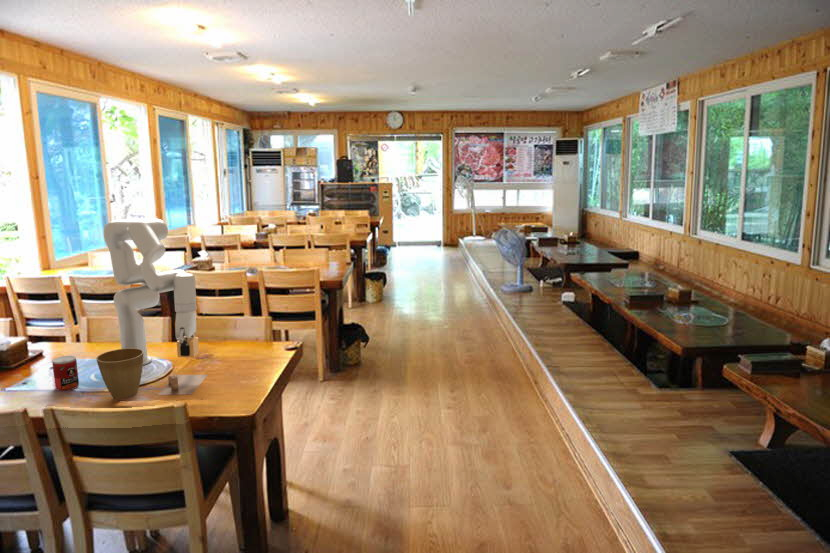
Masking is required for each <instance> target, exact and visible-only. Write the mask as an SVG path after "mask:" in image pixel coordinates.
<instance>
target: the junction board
mask: <svg viewBox="0 0 830 553" xmlns="http://www.w3.org/2000/svg"><path fill="white" fill-rule="evenodd" d="M207 377H208V374H180V375H179V374H178V375H177V374H176V375H175V374H170V375H168V376H167V380H168V383H167V384H165V385H166V386H164V387H163V388H162V389H161V390H160V392H158V394H157V396H179V395H180V396H182V395H184V396H185V395H193V393H194V392H195V391H196V390H197V389H198V387H199V386H200V385H201V384H202V382H204V381H205V379H206V378H207Z"/></svg>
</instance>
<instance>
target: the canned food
mask: <svg viewBox="0 0 830 553" xmlns="http://www.w3.org/2000/svg"><path fill="white" fill-rule="evenodd" d="M51 362H52V364H51V365H52V371H53V378H54V387H55V389H56V390H58V391H60V392H61V391H64V392H65V391H70V389H71V390H73V389H72V388H74V389H76V388H78V387H79V384H80V381H79V379H80V378H79V372H78V363H77V362H78V361H77V357H76V356H75V355H63V356H59V357H56V358H54V359H52V361H51ZM77 386H78V387H77ZM75 387H76V388H75Z"/></svg>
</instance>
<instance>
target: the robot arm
mask: <svg viewBox="0 0 830 553" xmlns="http://www.w3.org/2000/svg"><path fill="white" fill-rule="evenodd" d="M168 235H169V229H168V226H167V224H166V223H165V221H164V220H162V219H159V218H150V217H149V218H148V217H138V218H137V217H136V218H126V219H122V218H121V219H116V220H111V221H109V222H107V223H106V224H105V225H104V228H103V239H104V242H105V244H106V246H107V248H108V250H109V254H110V255H109V256H110V260H111V266H112V272H113V277H114V281H115V283H116V284H117V285H119V286H130V285H131V286H132V285H136V284H141V285H140V286H133V287H128V288H122V289H121V290H118V291H116V292H115V294H114V296H113V303H114V307H115V310H116V314H117V318H118V327H119V328H118V330H119V338H120V347H121V348H120V349H125V348H137V349H141V350H143V366H144V365H147V364H149V363H151V362H152V361H153V359H152V358H153V357H152V356H151V355H148V348H147V339H146V338H147V337H146V336H147V335H146V326H145V319H144V318H143V316H142V315H141V314H140V313H139V312H138V311H140V310H144V309H148V308H149V309H150V308H153V307H156V306H157V305H158V304H159V302H160V294H162V293H166V292H170V291H173V300H174V312H176V313H175V338H176V339H178V340H179V342H180V352H181V356H189V355H190V347H189V345H188V343H189V337H196V334H195V333H196V331H197V319H196V318H197V316H196V311H197V308H198V306H197V292H196V290H197V289H196V288H197V287H196V276H195V275H194V274H193V273H191V272H186V271H185V270H182V269H172V270H164V271H156V267H155V266H154V263H155V262H158V260H159V259H161V258H163V256H164V254H165V253H166V247H165V245H164V244H163V243H162V240H165V239H166V238H167V237H168ZM127 241H132V242H133V243H134V245H135V246H136V248H137V249H138V251H139V253H140V254H141V255H142V259H139V260H136V259H135V258H136V257H135V254H134V253H135V252H134V249H133V247H132V246H131V245H130V244H129V243H128V242H127ZM184 339H186V341H185V340H184Z"/></svg>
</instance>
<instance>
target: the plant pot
mask: <svg viewBox="0 0 830 553" xmlns="http://www.w3.org/2000/svg"><path fill="white" fill-rule="evenodd" d="M95 359H96V360H95V361H96V362H97V365H98V366H97V367H98V369H99V371H100V372H99V373H100V375H101V377H102V381H103V382H104V384H105V387H106V389H107V390H108V392H109V394H110V395H111V397H112V399H113V400H114V401H117V402H125V401H127V399H126V400H123V398H129V397H132V396H135V395H136V394H137V393H138V392H139V389H140V384H141V378H142V373H143V366H144V365H143V350H141V349H137V348H125V349H121V348H118V349H113V350H109V351H106V352H103V353H100V354H99V355H98V356H96V358H95ZM117 399H119V400H117ZM120 399H121V400H120Z"/></svg>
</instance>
